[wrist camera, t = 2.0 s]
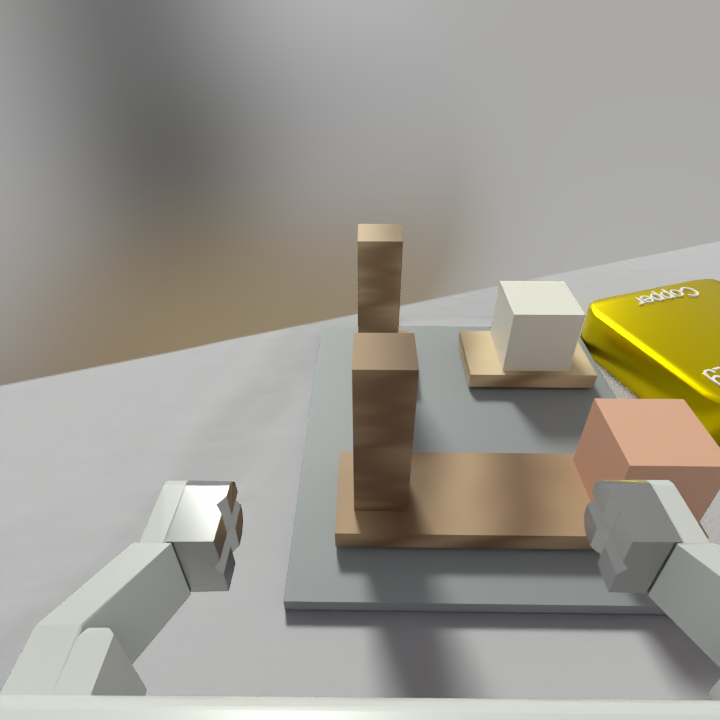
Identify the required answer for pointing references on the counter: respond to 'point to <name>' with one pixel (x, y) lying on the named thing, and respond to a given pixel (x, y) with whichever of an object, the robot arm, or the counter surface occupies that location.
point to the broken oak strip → (476, 347)
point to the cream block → (536, 325)
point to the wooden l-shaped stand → (442, 474)
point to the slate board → (451, 435)
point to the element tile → (663, 344)
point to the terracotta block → (650, 448)
